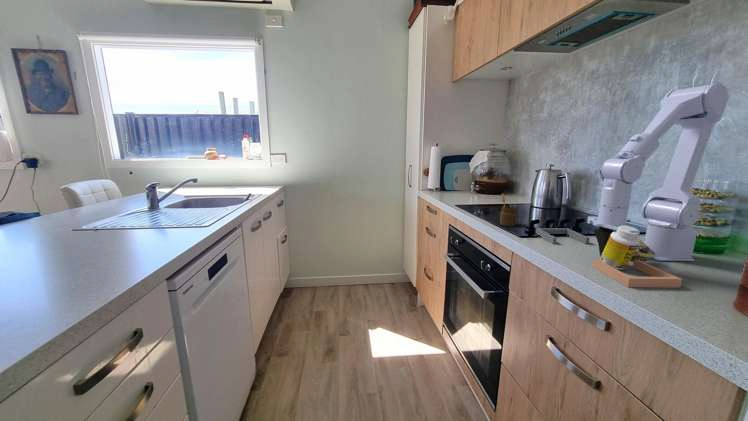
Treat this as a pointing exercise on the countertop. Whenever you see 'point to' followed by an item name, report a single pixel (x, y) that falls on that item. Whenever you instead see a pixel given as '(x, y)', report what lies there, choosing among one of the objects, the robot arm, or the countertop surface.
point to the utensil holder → (508, 214)
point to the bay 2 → (657, 279)
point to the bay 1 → (547, 231)
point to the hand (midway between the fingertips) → (605, 256)
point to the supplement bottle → (620, 247)
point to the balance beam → (644, 251)
